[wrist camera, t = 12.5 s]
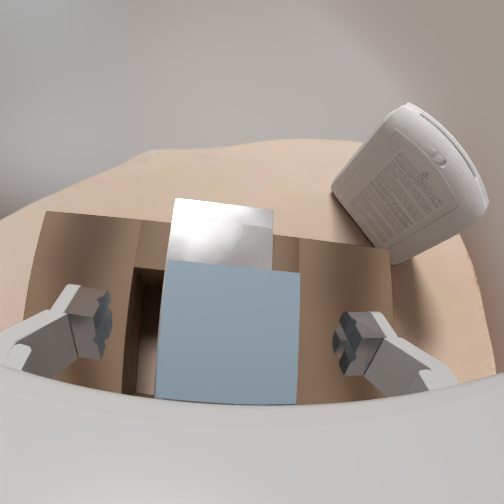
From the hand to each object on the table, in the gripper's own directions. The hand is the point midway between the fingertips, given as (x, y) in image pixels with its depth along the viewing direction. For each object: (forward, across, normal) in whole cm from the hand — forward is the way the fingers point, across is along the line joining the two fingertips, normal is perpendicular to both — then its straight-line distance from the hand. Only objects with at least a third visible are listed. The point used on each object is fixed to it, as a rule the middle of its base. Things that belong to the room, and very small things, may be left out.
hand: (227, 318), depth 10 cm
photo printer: (+17, -14, +1) cm, 22 cm away
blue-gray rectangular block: (+4, 0, +5) cm, 6 cm away
